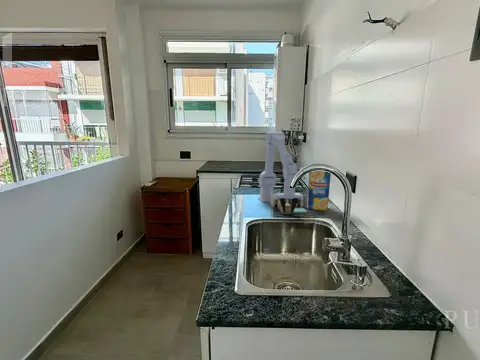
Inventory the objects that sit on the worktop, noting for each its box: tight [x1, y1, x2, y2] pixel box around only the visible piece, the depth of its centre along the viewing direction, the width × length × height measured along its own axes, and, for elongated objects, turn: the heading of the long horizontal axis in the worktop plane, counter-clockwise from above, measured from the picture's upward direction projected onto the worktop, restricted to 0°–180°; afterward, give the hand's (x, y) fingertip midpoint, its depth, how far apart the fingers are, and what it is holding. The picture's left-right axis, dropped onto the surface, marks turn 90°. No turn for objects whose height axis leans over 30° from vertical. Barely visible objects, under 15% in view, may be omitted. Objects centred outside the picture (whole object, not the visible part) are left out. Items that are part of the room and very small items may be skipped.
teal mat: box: [291, 207, 308, 214], centre depth 150 cm, size 7×9×1 cm
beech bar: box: [276, 200, 292, 215], centre depth 149 cm, size 12×4×4 cm, turn 8°
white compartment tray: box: [269, 192, 304, 208], centre depth 160 cm, size 7×18×6 cm, turn 98°
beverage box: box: [306, 171, 332, 211], centre depth 154 cm, size 7×11×22 cm, turn 81°
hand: (287, 212), depth 142 cm, fingers closed on beech bar, 4 cm apart
